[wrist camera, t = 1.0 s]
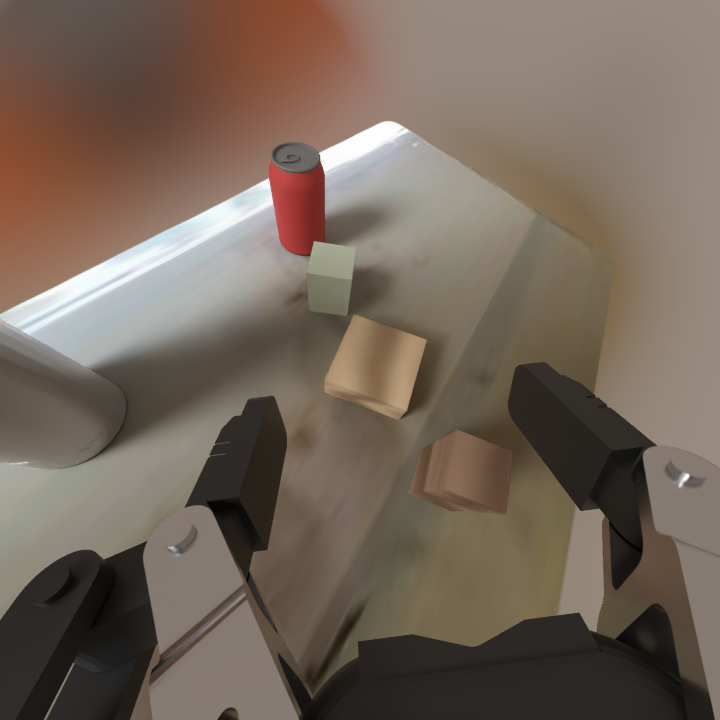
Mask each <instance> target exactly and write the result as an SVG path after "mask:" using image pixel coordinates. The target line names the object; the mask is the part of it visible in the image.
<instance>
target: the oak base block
mask: <svg viewBox="0 0 720 720" xmlns="http://www.w3.org/2000/svg"><path fill="white" fill-rule="evenodd" d="M426 341H427V340H426V339H423V338H420V337H417V336H415V335H412V334H409V333H406V332H403V331H400V330H398V329H395V328H392V327H389V326H386V325H384V324H381V323H378V322H375V321H372V320H370V319H367V318H364V317H361V316H358V315H355V314H354V315H353V318H352V320H351V322H350V324H349V326H348V329H347V331H346V333H345V335H344V337H343V340H342V342H341V344H340V346H339V349H338V351H337V353H336V355H335V357H334V360H333V362H332V364H331V366H330V369H329V371H328V373H327V375H326V377H325V380H324V386H325V392H326V393H328V394H331V395H334V396H336V397H339V398H342V399H344V400H347V401H350V402H352V403H355V404H358V405H360V406H363V407H366V408H368V409H371V410H374V411H376V412H379V413H382V414H384V415H387V416H390V417H392V418H395V419H398V420H399V419H400V418H401V417H402V416H403V414H404V413H405V412H406V411H407V408H408V405H409V401H410V398H411V394H412V391H413V387H414V384H415V380H416V377H417V373H418V370H419V366H420V363H421V359H422V356H423V352H424V349H425V345H426Z"/></svg>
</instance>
